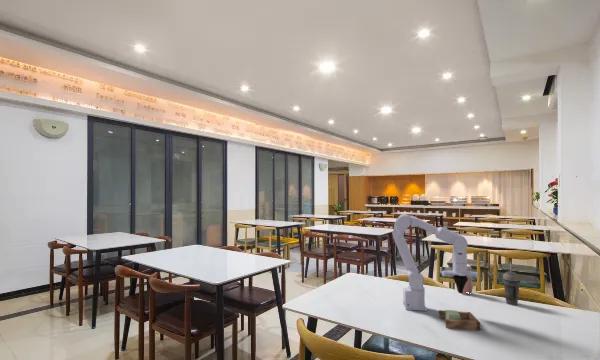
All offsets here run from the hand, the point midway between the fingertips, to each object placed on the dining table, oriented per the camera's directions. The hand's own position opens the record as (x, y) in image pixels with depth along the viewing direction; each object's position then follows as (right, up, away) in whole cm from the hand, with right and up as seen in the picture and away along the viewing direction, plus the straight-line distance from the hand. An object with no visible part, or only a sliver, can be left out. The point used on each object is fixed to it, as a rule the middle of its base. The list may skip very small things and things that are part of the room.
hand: (460, 292), depth 140 cm
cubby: (-7, -9, -10) cm, 15 cm away
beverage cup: (+31, -10, +12) cm, 35 cm away
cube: (-8, -9, -10) cm, 16 cm away
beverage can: (+17, -10, +27) cm, 33 cm away
